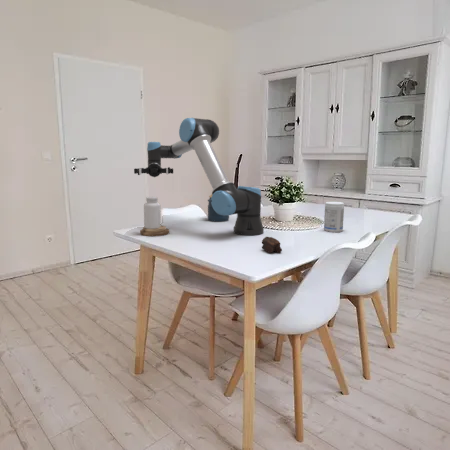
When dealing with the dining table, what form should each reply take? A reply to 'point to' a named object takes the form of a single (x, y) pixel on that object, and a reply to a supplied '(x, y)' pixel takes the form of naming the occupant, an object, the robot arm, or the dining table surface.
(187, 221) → the dining table surface
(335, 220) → the supplement tub
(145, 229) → the brown rope coil
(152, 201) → the pill bottle
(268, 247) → the brown notched block
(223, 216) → the canister
